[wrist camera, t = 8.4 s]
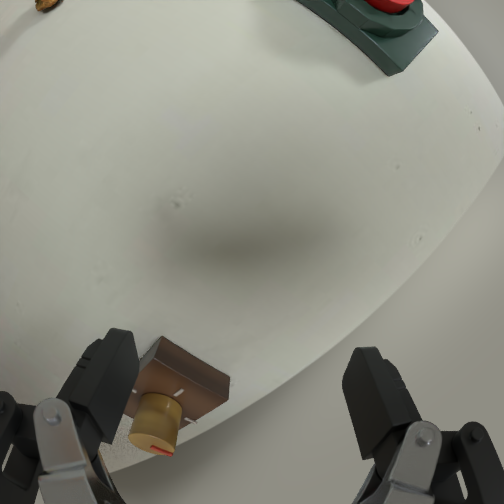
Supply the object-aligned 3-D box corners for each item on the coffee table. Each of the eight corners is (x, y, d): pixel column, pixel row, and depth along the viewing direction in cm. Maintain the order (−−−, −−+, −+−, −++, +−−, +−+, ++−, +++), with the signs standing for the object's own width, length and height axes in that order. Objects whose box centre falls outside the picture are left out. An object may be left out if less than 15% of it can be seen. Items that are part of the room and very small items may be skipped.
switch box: (425, 37, 13) (452, 26, 9) (388, 77, 15) (416, 67, 11) (331, -40, 11) (345, -64, 7) (283, -8, 13) (290, -35, 9)
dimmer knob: (135, 404, 23) (122, 443, 18) (149, 386, 22) (134, 431, 17) (171, 421, 24) (163, 461, 19) (189, 406, 23) (182, 450, 18)
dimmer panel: (159, 333, 23) (150, 357, 20) (232, 378, 25) (231, 402, 22) (114, 385, 27) (105, 404, 24) (173, 418, 29) (169, 438, 26)
